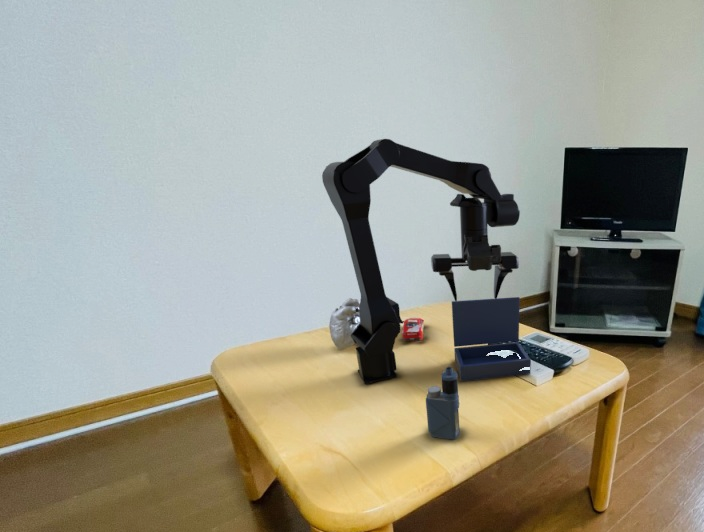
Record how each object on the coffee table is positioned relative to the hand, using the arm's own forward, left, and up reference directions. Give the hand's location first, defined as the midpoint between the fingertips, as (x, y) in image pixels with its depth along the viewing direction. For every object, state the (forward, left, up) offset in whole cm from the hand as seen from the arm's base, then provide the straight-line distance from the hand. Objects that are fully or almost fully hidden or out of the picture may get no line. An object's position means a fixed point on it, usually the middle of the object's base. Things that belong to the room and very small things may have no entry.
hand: (475, 299), depth 90 cm
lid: (-1, -7, -3) cm, 8 cm away
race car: (-10, +15, -12) cm, 22 cm away
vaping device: (-20, -29, -12) cm, 37 cm away
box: (-2, -12, -12) cm, 17 cm away
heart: (-26, +16, -12) cm, 33 cm away
